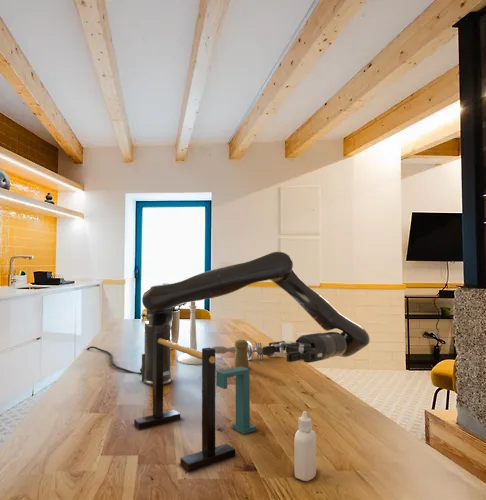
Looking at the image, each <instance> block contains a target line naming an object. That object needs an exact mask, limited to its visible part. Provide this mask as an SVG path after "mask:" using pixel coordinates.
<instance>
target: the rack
mask: <svg viewBox="0 0 486 500" xmlns="http://www.w3.org/2000/svg"><path fill="white" fill-rule="evenodd" d="M163 345H165V346H167V347H170V348H171V349H173V350H175V351H178V352H180V353H183V354H188V355H191V356H194V357H196V358H199V359H202V364H201V451H198V452H194V453H192V454H188V455H185V456H182V457H180V459H179V461H180V464H179V465H180V467H182V468H183V469H184V470H185V471H186V472H188V473H191V472H193V471H197V470H200V469H203V468H205V467H208V466H211V465H214V464H217V463H220V462H223V461H226V460H229V459H232V458H235V457H236V454H237V453H236V452H237V451H236V448H235V447H234V446H232V445H230V444H228V443H224V444H221V445H218V446H216V353H215V349H213V347H202V348H201V351H199V350H197V351H196V350H193V349H190V348H189V346H188V347H187V346H184V345H182V344H179V343H176V342H173V341H172V340H171V341H168V340H165V339H163V332H160V331H159V332H153V385H152V414H151V415H146V416H143V417H138V418H134V419H133V425H134V427H135V428H136V429H138V430H139V431H140V430H143V429H147V428H151V427H155V426H159V425H163V424H164V425H165V424H168V423H172V422H175V421H180V420H181V413H180V412H179V411H177V410H175V409H172V410H169V411H168V410H167V411H164V385H163Z"/></svg>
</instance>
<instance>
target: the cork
mask: <svg viewBox="0 0 486 500" xmlns="http://www.w3.org/2000/svg"><path fill="white" fill-rule="evenodd" d="M247 341H248V340H245V339H236V340H235V341H234V347H235V348H236V352H235V354H234V362H233V368H235V367H241V366H242V367H245V368H247V369H250V366H249V365H250V364H249V360H248V356H247V355H248V353H247V347H248V343H247ZM248 348H249V347H248Z"/></svg>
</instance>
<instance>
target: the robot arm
mask: <svg viewBox="0 0 486 500" xmlns="http://www.w3.org/2000/svg"><path fill="white" fill-rule="evenodd" d="M293 267H294V263H293V259H292V258H291V256H290V255H289V254H288V253H286V252H284V251H272V252H270V253H267V254H265V255H263V256H260V257H257V258H254V259H253V260H252V259H251V260H248V261H246V262H240V263H236V264H231V265H226V266H223V267H217V268H215V269H210V270H207V271H203V272H200V273H198V274H196V275H193V276H191V277H188V278H185V279H184V280H180V281H178V282H174V283H167V284H156V285H152V286H149V287H148V288H147V289H146V290H145V291H144V293H143V295H142V297H141V299H142V300H141V302H142V305H143V308H145V309H146V315H145V322H144V330H143V331H144V339H143V341H144V351H143V353H141V368H139V371H140V372H137V371H132V370H129V369H128V368H124V367H122V366H121V367H120V366H118V365H116V364H115V362H114V359H113V354H112V353H111V352H109V351H108V350H105V349H102V348H100V347H97V346H94V345H93V346H89V347H87V348H86V351H89V350H90V349H95V350H97V351H100V352H102V353H105V354H108V355H109V357H110V363H111V365H112V366H113V367H114V368H116V369H118V370H120V371H123V372H126V373H130V374H137V375H141V383H144V384H147V385H150V386H153V332H159V331H160V332H163V339H165V340H168V341H171V342H172V323H173V308H174V307H177V306H180V305H183V304H186V303H187V304H188V303H191V302H193V301H195V302H199V301H206V300H210V299H214V298H215V299H216V298H218V297H224V296H226V295H229V294H233V293H235V292H237V291H239V290H241V289H243V288H246V287H247V286H250V285H252V284H255V283H259V282H266V281H271V282H272V283H274V284H276V285H277V286H278V287H280V288H281V289H282V290H283V291H285V292H286V293H287V294H289V296H291V298H293V299H294V301H296V303H298V304H299V305H300V306H301V308H302V309H304V311H305V312H306V313H307V314H308V315H309V316H310V317H311V318H312V319H313V320H314V321H315V322H316V323H317V325H319V326H320V327H321V328H322V329H323V330H324V331H326V332H316V333H315V332H314V333H310V334H309V333H308V334H303V335H300V336H298V337H297V338H296V340H295V341H289V342H286V341H285V340H280V341H273V342H268V345H266V346H265V345H264V346H262V348H263V356H266V355H270V354H277V355H280V356H282V357H286V362H287V363H295V362H303V363H306V364H308V363H315V362H320V361H324V360H327V359H330V358H334V357H341V358H348V357H351V356H353V355H356V353H358V352H359V351H361V350H363V349H364V348H366V347H367V346H368V345H369V344H370V340H371V339H370V335H369V333H368V332H367V331H366V329H365V328H363V326H362V325H359V324H358V323H356V322H355V321H353V320H351V319H349V318H348V317H346V316H345V315H343V314H341V313H340V312H339V311H338V310H337V309H336V308H335V307H334V306H333V305H332V304H331V303H330V302H329V301H328V300H327V299H325V298H324V297H323V296H322V295H320V293H318V292H317V291H315V290H314V289H313V288H311V287H310V286H308V285H307V284H306V283H305V282H304V281H303V280H302V279H301V278H300V277H299V276H298V275H297V274H296V272H295V271H294V268H293ZM336 329H337V330H340V331H341V332H338V331H333V330H336ZM284 351H285V352H284ZM171 382H172V348H170V347H167V346H165V345H163V386H164V385H168V384H170V383H171Z"/></svg>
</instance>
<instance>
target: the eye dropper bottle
mask: <svg viewBox="0 0 486 500" xmlns="http://www.w3.org/2000/svg"><path fill="white" fill-rule="evenodd" d="M297 419H298V429H297V431H296V432H295V434H294V442H293V444H294V446H293V448H294V449H293V450H294V451H293V453H294V454H293V455H294V456H293V457H294V458H293V459H294V462H293V464H294V468H293V469H294V478H296V479H298V480H300V481H303V482H309V481H311V480H313V479H314V478H315V477H316V475H317V435H316V432H315V431H314V430H313V427H312V426H313V423H312V419H311V417H309V415H308V411H306V410H303V411H302V415H301V416H299V417H298V418H297Z"/></svg>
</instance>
